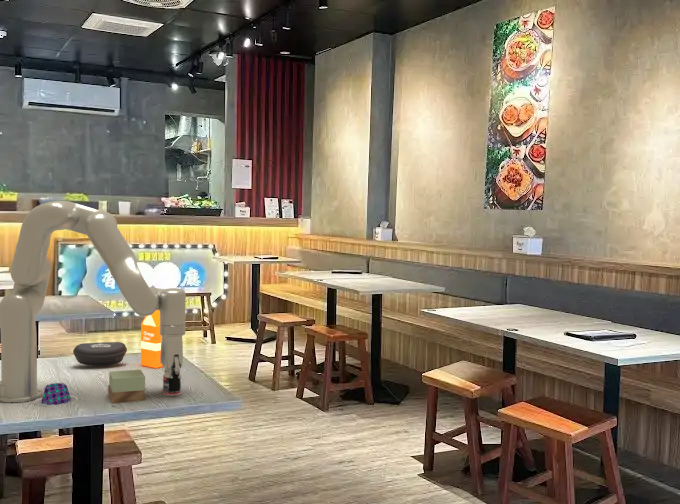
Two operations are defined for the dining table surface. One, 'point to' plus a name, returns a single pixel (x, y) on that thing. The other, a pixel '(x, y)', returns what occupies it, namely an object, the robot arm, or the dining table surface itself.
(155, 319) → the orange juice
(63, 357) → the dining table surface
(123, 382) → the tower top slab
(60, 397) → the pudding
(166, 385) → the pill bottle
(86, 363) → the glasses case
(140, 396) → the tower base slab
